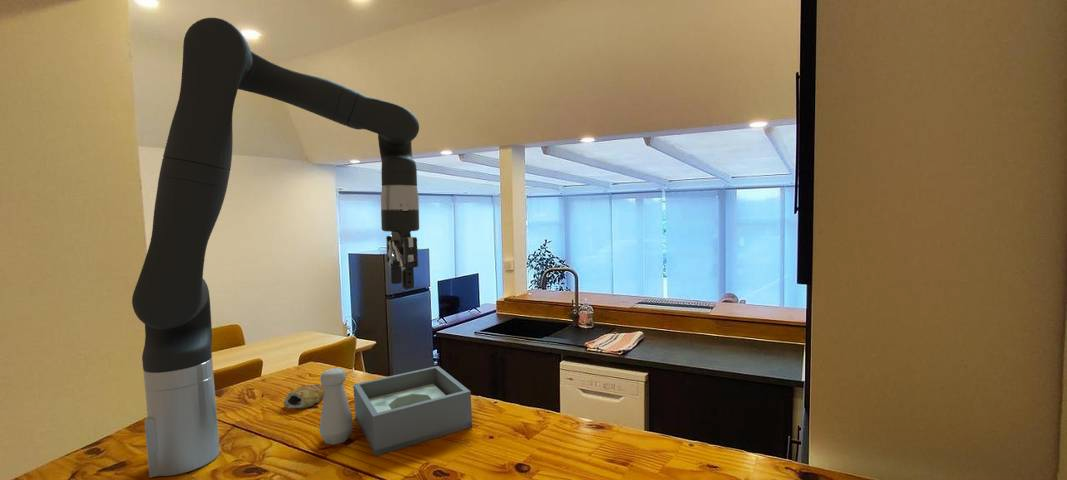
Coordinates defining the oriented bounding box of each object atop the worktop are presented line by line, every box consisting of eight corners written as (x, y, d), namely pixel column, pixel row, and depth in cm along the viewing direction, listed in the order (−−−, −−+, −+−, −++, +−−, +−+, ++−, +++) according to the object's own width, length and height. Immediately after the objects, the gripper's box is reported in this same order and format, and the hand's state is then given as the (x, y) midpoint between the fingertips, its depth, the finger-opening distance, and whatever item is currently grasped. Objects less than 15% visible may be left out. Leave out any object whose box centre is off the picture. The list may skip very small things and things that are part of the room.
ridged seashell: (311, 392, 108) (310, 376, 108) (336, 394, 106) (335, 378, 106) (281, 409, 99) (279, 392, 99) (307, 411, 97) (306, 394, 97)
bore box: (375, 456, 77) (372, 416, 77) (355, 417, 93) (353, 384, 92) (472, 426, 87) (470, 391, 86) (439, 396, 102) (438, 365, 102)
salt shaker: (359, 431, 87) (355, 365, 86) (344, 447, 81) (340, 376, 80) (330, 431, 87) (326, 365, 86) (313, 446, 81) (308, 376, 81)
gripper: (373, 209, 98) (375, 283, 99) (390, 207, 86) (393, 292, 87) (407, 209, 102) (409, 280, 103) (429, 207, 90) (431, 288, 91)
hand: (402, 286), depth 95 cm, fingers open, 8 cm apart
